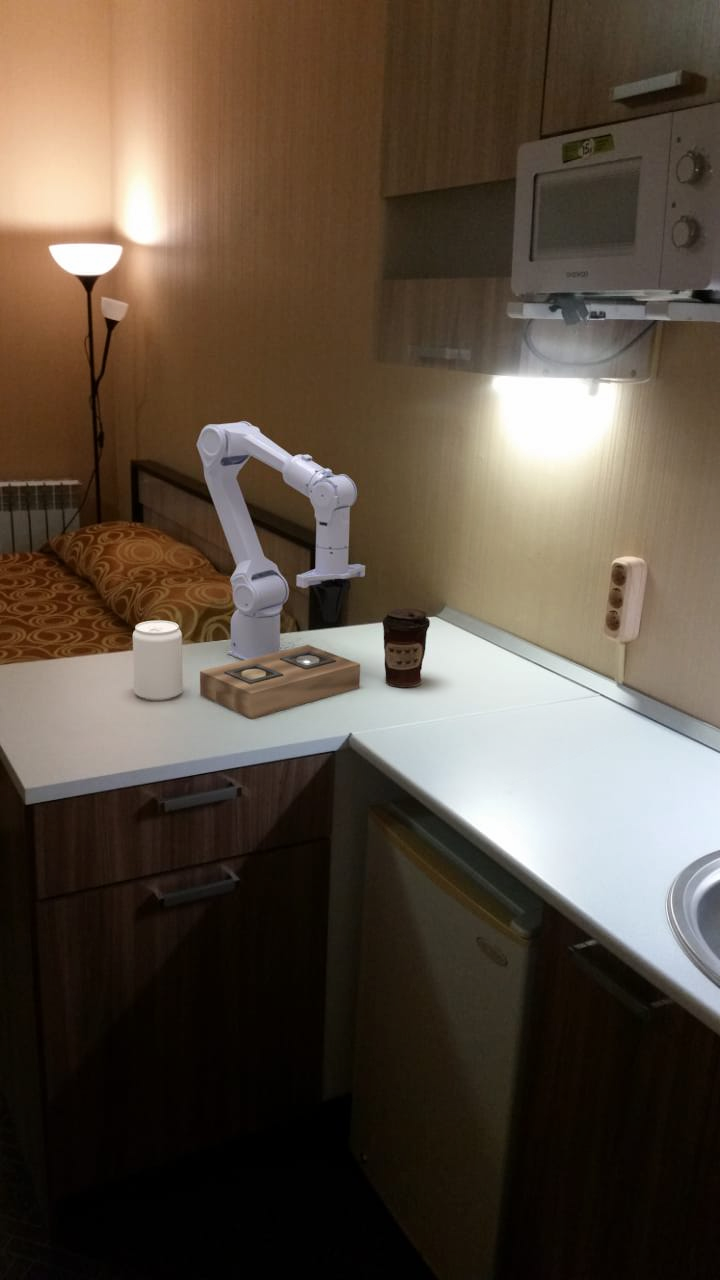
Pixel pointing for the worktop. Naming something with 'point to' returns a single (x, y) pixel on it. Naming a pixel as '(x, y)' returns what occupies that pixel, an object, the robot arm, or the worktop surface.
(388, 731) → the worktop surface
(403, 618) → the coffee cup
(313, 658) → the metal peg
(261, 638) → the robot arm
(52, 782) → the worktop surface
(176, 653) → the beverage can
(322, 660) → the socket block
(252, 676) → the maple peg
